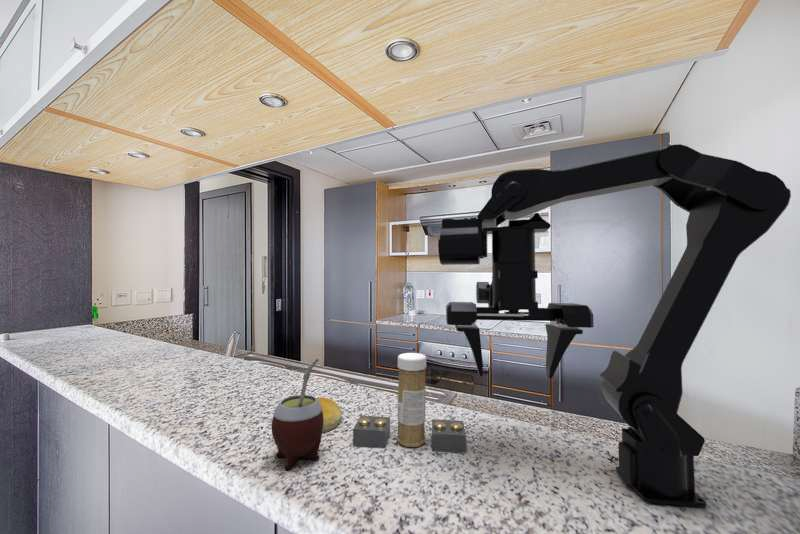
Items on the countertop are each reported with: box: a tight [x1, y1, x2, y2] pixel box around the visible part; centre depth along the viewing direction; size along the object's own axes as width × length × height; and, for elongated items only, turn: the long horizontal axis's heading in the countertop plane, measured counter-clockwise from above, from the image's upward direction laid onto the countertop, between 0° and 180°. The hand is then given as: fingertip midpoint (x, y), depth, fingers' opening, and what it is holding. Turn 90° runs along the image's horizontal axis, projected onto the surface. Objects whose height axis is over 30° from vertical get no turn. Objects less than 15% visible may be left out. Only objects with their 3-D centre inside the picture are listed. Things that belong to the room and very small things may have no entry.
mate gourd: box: [271, 358, 324, 472], centre depth 46 cm, size 8×8×15 cm
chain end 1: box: [352, 415, 391, 449], centre depth 51 cm, size 5×5×3 cm
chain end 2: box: [431, 418, 467, 454], centre depth 50 cm, size 5×5×3 cm
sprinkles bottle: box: [396, 352, 427, 448], centre depth 51 cm, size 5×5×13 cm
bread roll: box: [315, 397, 343, 434], centre depth 57 cm, size 8×9×4 cm
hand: (514, 376), depth 45 cm, fingers open, 9 cm apart
